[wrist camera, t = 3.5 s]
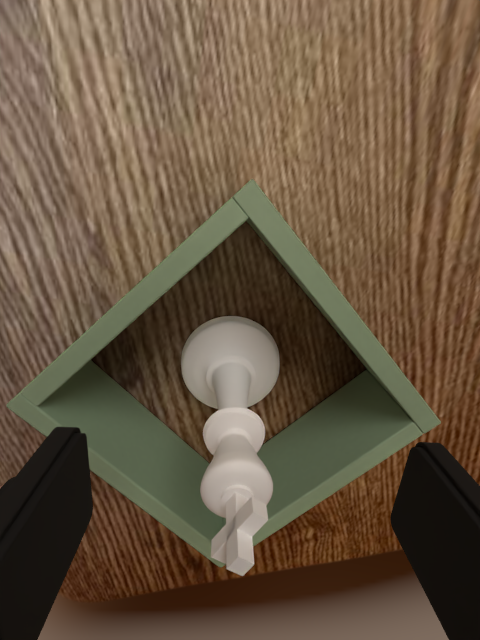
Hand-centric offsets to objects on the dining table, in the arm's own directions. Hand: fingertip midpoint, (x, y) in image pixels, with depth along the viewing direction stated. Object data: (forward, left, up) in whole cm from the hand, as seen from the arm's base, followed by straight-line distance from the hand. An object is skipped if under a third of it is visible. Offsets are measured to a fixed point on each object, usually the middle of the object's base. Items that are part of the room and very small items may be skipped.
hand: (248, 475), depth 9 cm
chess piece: (0, 0, -8) cm, 8 cm away
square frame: (0, 0, -8) cm, 8 cm away
